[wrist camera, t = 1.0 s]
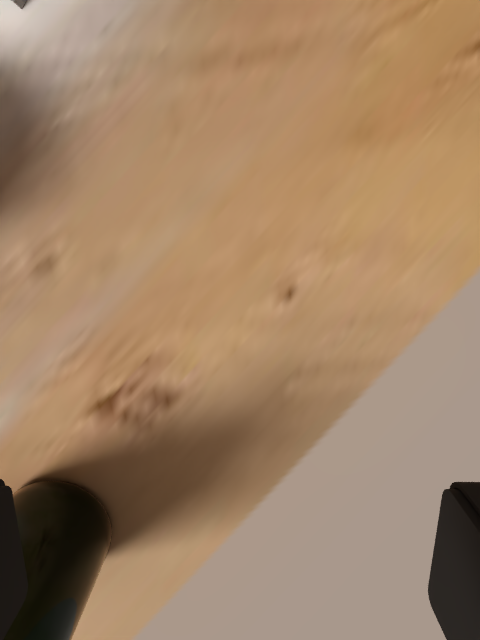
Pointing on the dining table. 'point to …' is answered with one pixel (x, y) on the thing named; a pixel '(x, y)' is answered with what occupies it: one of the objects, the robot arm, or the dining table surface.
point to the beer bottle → (58, 557)
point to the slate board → (19, 3)
